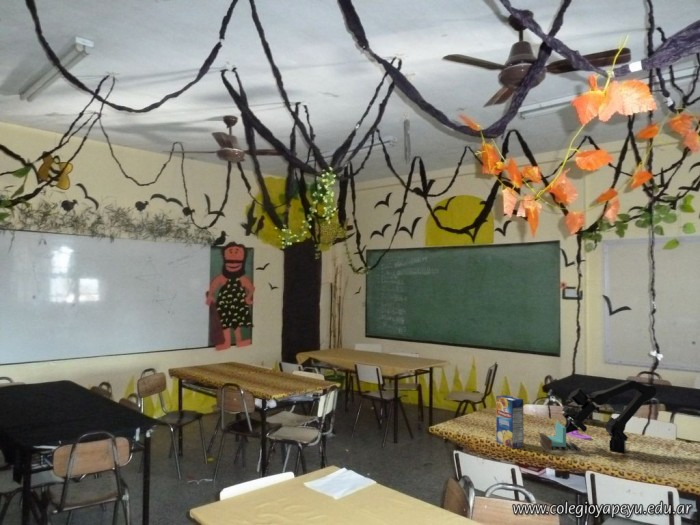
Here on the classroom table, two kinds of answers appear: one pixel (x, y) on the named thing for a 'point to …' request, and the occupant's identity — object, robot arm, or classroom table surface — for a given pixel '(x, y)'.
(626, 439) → the robot arm
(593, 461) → the classroom table surface
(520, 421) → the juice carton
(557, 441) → the teal l-shaped block
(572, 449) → the roller track
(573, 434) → the bracket
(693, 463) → the classroom table surface
